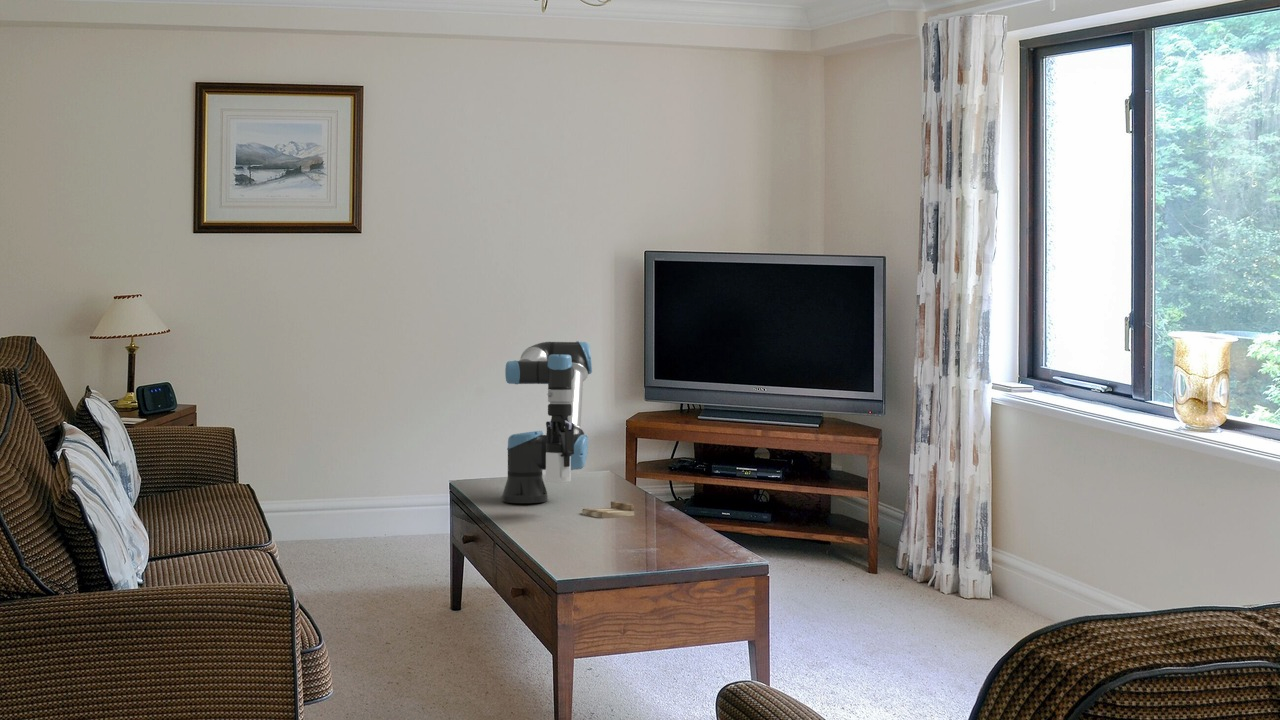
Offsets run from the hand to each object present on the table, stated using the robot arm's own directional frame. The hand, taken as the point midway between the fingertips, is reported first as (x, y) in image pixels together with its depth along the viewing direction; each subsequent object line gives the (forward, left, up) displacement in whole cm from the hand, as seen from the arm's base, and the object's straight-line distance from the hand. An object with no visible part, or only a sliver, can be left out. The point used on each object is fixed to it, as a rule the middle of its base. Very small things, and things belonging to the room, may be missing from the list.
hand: (559, 476), depth 344 cm
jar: (-1, 0, -2) cm, 2 cm away
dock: (+5, +15, -13) cm, 20 cm away
